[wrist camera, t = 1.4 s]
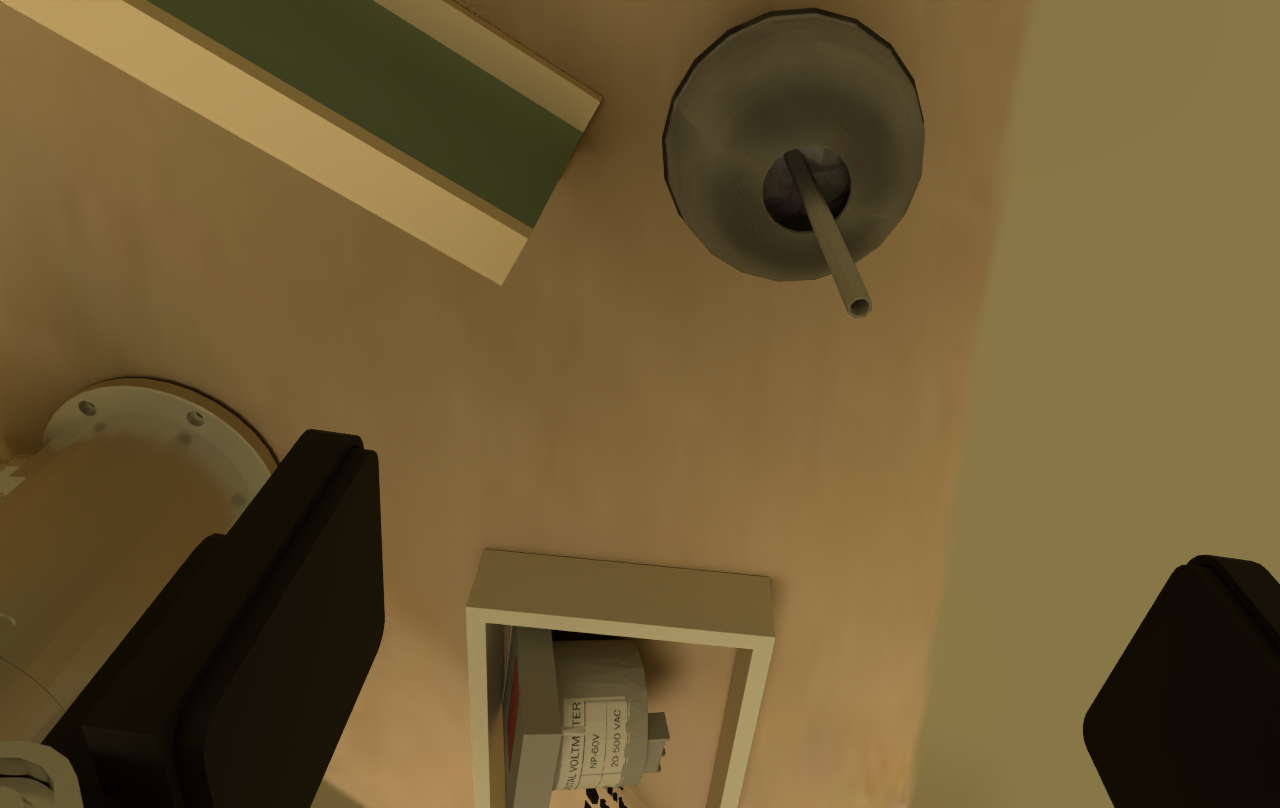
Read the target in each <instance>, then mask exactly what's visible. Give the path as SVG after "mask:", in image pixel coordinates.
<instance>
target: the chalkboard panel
mask: <svg viewBox="0 0 1280 808" xmlns="http://www.w3.org/2000/svg"><path fill="white" fill-rule="evenodd" d="M0 1H1V2H3V3H5V4H7V5H8V6H10V7H12V8H14V9H15V10H17V11H19V12H21V13H22V14H24V15H26V16H28V17H29V18H31V19H33V20H35V21H37V22H38V23H40V24H42V25H44V26H45V27H47V28H49V29H51V30H52V31H54V32H56V33H58V34H59V35H61V36H63V37H65V38H66V39H68V40H70V41H72V42H73V43H75V44H77V45H79V46H80V47H82V48H84V49H86V50H87V51H89V52H91V53H93V54H95V55H96V56H98V57H100V58H102V59H103V60H105V61H107V62H109V63H110V64H112V65H114V66H116V67H117V68H119V69H121V70H123V71H124V72H126V73H128V74H130V75H131V76H133V77H135V78H137V79H138V80H140V81H142V82H144V83H146V84H147V85H149V86H151V87H153V88H154V89H156V90H158V91H160V92H161V93H163V94H165V95H167V96H168V97H170V98H172V99H174V100H175V101H177V102H179V103H181V104H182V105H184V106H186V107H188V108H189V109H191V110H193V111H195V112H196V113H198V114H200V115H202V116H204V117H205V118H207V119H209V120H211V121H212V122H214V123H216V124H218V125H219V126H221V127H223V128H225V129H226V130H228V131H230V132H232V133H233V134H235V135H237V136H239V137H240V138H242V139H244V140H246V141H247V142H249V143H251V144H253V145H255V146H256V147H258V148H260V149H262V150H263V151H265V152H267V153H269V154H270V155H272V156H274V157H276V158H277V159H279V160H281V161H283V162H284V163H286V164H288V165H290V166H291V167H293V168H295V169H297V170H298V171H300V172H302V173H304V174H305V175H307V176H309V177H311V178H313V179H314V180H316V181H318V182H320V183H321V184H323V185H325V186H327V187H328V188H330V189H332V190H334V191H335V192H337V193H339V194H341V195H342V196H344V197H346V198H348V199H349V200H351V201H353V202H355V203H356V204H358V205H360V206H362V207H363V208H365V209H367V210H369V211H371V212H372V213H374V214H376V215H378V216H379V217H381V218H383V219H385V220H386V221H388V222H390V223H392V224H393V225H395V226H397V227H399V228H400V229H402V230H404V231H406V232H407V233H409V234H411V235H413V236H414V237H416V238H418V239H420V240H422V241H423V242H425V243H427V244H429V245H430V246H432V247H434V248H436V249H437V250H439V251H441V252H443V253H444V254H446V255H448V256H450V257H451V258H453V259H455V260H457V261H458V262H460V263H462V264H464V265H465V266H467V267H469V268H471V269H472V270H474V271H476V272H478V273H480V274H481V275H483V276H485V277H487V278H488V279H490V280H492V281H494V282H495V283H497V284H499V285H501V286H502V285H503V283H504V281H505V279H506V277H507V276H508V274H509V272H510V270H511V269H512V267H513V265H514V263H515V262H516V260H517V258H518V256H519V254H520V253H521V251H522V249H523V247H524V246H525V244H526V242H527V240H528V238H529V237H530V235H531V233H532V231H533V228H534V226H535V224H536V223H537V221H538V219H539V217H540V215H541V213H542V211H543V209H544V207H545V205H546V203H547V201H548V199H549V198H550V196H551V194H552V192H553V190H554V188H555V186H556V184H557V182H558V180H559V178H560V176H561V174H562V172H563V171H564V169H565V167H566V165H567V163H568V161H569V159H570V157H571V155H572V153H573V151H574V149H575V147H576V146H577V144H578V142H579V140H580V138H581V136H582V134H583V132H584V130H585V129H586V127H587V125H588V123H589V121H590V120H591V118H592V116H593V114H594V113H595V111H596V109H597V107H598V105H599V104H600V102H601V100H602V98H603V97H601V96H600V95H598V94H597V93H595V92H594V91H592V90H591V89H589V88H588V87H586V86H584V85H583V84H581V83H580V82H578V81H577V80H575V79H574V78H572V77H570V76H569V75H567V74H566V73H564V72H563V71H561V70H560V69H558V68H557V67H555V66H553V65H552V64H550V63H549V62H547V61H546V60H544V59H543V58H541V57H539V56H538V55H536V54H535V53H533V52H532V51H530V50H529V49H527V48H526V47H524V46H522V45H521V44H519V43H518V42H516V41H515V40H513V39H512V38H510V37H508V36H507V35H505V34H504V33H502V32H501V31H499V30H498V29H496V28H495V27H493V26H491V25H490V24H488V23H487V22H485V21H484V20H482V19H481V18H479V17H478V16H476V15H474V14H473V13H471V12H470V11H468V10H467V9H465V8H464V7H462V6H460V5H459V4H457V3H456V2H454V1H453V0H0Z"/></svg>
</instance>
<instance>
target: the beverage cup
mask: <svg viewBox="0 0 1280 808" xmlns="http://www.w3.org/2000/svg"><path fill="white" fill-rule="evenodd" d="M924 140H925V129H924V119H923V115H922V111H921V106H920V102H919V98H918V94H917V90H916V86H915V81H914V79H913V77H912V76H911V74H910V72H909V71H908V69H907V68H906V66H905V65H904V63H903V62H902V60H901V59H900V57H899V56H898V54H897V53H896V51H895V50H894V48H893V47H892V45H891V44H890V43H889V42H887V41H886V40H884V39H883V38H882V37H880V36H879V35H878V34H876V33H875V32H873V31H872V30H871V29H869V28H868V27H867V26H865V25H864V24H862V23H861V22H860V21H858V20H857V19H854V18H850V17H847V16H843V15H839V14H836V13H832V12H828V11H825V10H821V9H817V8H805V9H793V10H781V11H770V12H768V13H765V14H763V15H761V16H758V17H756V18H754V19H752V20H749V21H747V22H745V23H742V24H740V25H738V26H735V27H733V28H731V29H729V30H727V31H726V32H725V33H724V34H723V35H722V36H721V37H720V38H718V39H717V40H716V41H715V42H714V43H713V44H712V45H711V46H709V47H708V48H707V49H706V50H705V51H704V52H703V53H701V54H700V55H699V56H698V57H697V58H696V59H695V60H694V62H693V63H692V65H691V67H690V68H689V70H688V71H687V73H686V75H685V76H684V78H683V80H682V81H681V83H680V85H679V86H678V88H677V90H676V91H675V93H674V95H673V96H672V99H671V103H670V107H669V111H668V115H667V119H666V124H665V128H664V132H663V136H662V148H663V163H664V179H665V181H666V184H667V186H668V189H669V191H670V194H671V196H672V199H673V201H674V204H675V206H676V209H677V211H678V214H679V215H680V217H681V218H682V219H683V220H684V222H685V223H686V224H687V225H688V227H689V228H690V229H691V230H692V231H693V233H694V234H695V235H696V236H697V237H698V238H699V240H700V241H701V242H702V243H703V244H704V246H705V247H706V248H707V249H708V250H709V252H710V253H711V254H713V255H714V256H716V257H718V258H719V259H721V260H722V261H724V262H726V263H727V264H729V265H731V266H732V267H734V268H735V269H737V270H739V271H740V272H742V273H746V274H750V275H754V276H758V277H763V278H767V279H771V280H775V281H798V280H815V279H818V278H821V277H824V276H826V275H829V274H832V276H833V278H834V281H835V283H836V285H837V288H838V290H839V293H840V295H841V297H842V300H843V302H844V305H845V307H846V310H847V312H848V314H850V315H851V316H853V317H854V318H861V317H865V316H866V315H867V314H868V313H869V312H870V311H871V310H872V301H871V299H870V297H869V294H868V292H867V290H866V288H865V286H864V284H863V281H862V279H861V277H860V275H859V273H858V271H857V268H856V266H855V263H856V262H858V261H859V260H861V259H862V258H863V257H865V256H866V255H868V254H869V253H870V252H872V251H873V250H875V249H876V248H878V247H879V246H880V245H881V244H882V242H883V241H884V240H885V239H886V238H887V236H888V235H889V234H890V233H891V231H892V230H893V229H894V228H895V226H896V225H897V224H898V223H899V221H900V220H901V219H902V218H903V217H904V215H905V214H906V212H907V209H908V207H909V204H910V202H911V200H912V197H913V195H914V192H915V190H916V188H917V185H918V183H919V180H920V178H921V173H922V162H923V151H924Z"/></svg>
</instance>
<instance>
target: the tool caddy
mask: <svg viewBox="0 0 1280 808" xmlns="http://www.w3.org/2000/svg"><path fill="white" fill-rule="evenodd" d="M503 625H513V626H523V627H533V628H543V629H553V630H564V631H574V632H584V633H594V634H604V635H614V636H624V637H634V638H644V639H654V640H664V641H674V642H684V643H694V644H704V645H714V646H724V647H735V648H737V651H736V656H735V661H734V667H733V672H732V677H731V682H730V687H729V692H728V698H727V703H726V708H725V713H724V718H723V723H722V729H721V734H720V739H719V744H718V749H717V754H716V760H715V765H714V770H713V775H712V780H711V785H710V791H709V796H708V801H707V806H706V808H737V807H738V802H739V798H740V793H741V789H742V784H743V780H744V776H745V771H746V767H747V762H748V758H749V753H750V749H751V744H752V740H753V736H754V731H755V727H756V722H757V718H758V713H759V709H760V704H761V700H762V696H763V691H764V687H765V682H766V678H767V673H768V669H769V664H770V660H771V656H772V651H773V647H774V642H775V638H776V637H775V628H774V619H773V610H772V601H771V591H770V582H769V577H762V576H751V575H741V574H731V573H721V572H711V571H701V570H690V569H680V568H670V567H660V566H650V565H640V564H630V563H619V562H609V561H599V560H589V559H579V558H569V557H558V556H548V555H538V554H528V553H518V552H508V551H497V550H487V549H485V550H484V553H483V556H482V559H481V562H480V565H479V568H478V571H477V574H476V577H475V580H474V583H473V586H472V589H471V592H470V595H469V598H468V601H467V604H466V626H467V650H468V674H469V698H470V722H471V746H472V769H473V793H474V808H505V765H504V737H503V710H502V698H503V690H504V643H503Z"/></svg>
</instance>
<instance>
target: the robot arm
mask: <svg viewBox="0 0 1280 808" xmlns="http://www.w3.org/2000/svg"><path fill="white" fill-rule="evenodd" d="M0 494H3V495H4V497H3V498H2V499H1V500H0V808H310V806H311V804H312V802H313V799H314V797H315V795H316V792H317V790H318V788H319V786H320V783H321V781H322V779H323V776H324V774H325V772H326V769H327V767H328V765H329V763H330V760H331V758H332V756H333V753H334V751H335V749H336V746H337V744H338V742H339V739H340V737H341V735H342V733H343V730H344V728H345V726H346V723H347V721H348V719H349V716H350V714H351V712H352V709H353V707H354V705H355V703H356V700H357V698H358V696H359V693H360V691H361V689H362V686H363V684H364V682H365V679H366V677H367V675H368V672H369V670H370V668H371V666H372V663H373V661H374V659H375V656H376V654H377V652H378V649H379V646H380V643H381V640H382V636H383V631H384V623H385V610H384V586H383V561H382V536H381V512H380V487H379V462H378V456H377V453H376V452H375V451H373V450H366V449H364V446H363V442H362V439H361V438H360V437H359V436H357V435H350V434H343V433H336V432H329V431H322V430H315V429H309V430H306V431H305V432H304V433H303V434H302V435H301V436H300V438H299V439H298V440H297V442H296V443H295V444H294V446H293V447H292V448H291V450H290V451H289V452H288V454H287V455H286V456H285V458H284V459H283V460H282V462H281V463H280V464H279V465H278V466H277V464H276V462H275V461H274V459H273V457H272V455H271V454H270V452H269V450H268V449H267V448H266V446H265V445H264V444H263V443H262V442H261V440H260V439H259V438H258V437H257V435H256V434H255V433H254V432H253V431H252V430H251V429H250V428H249V427H248V426H246V425H245V424H244V423H243V422H242V421H241V420H240V419H239V418H238V417H236V416H235V415H234V414H232V413H231V412H229V411H228V410H226V409H225V408H223V407H222V406H220V405H219V404H217V403H216V402H214V401H212V400H210V399H208V398H206V397H204V396H202V395H200V394H198V393H196V392H194V391H192V390H189V389H186V388H183V387H180V386H177V385H174V384H171V383H167V382H162V381H156V380H150V379H145V378H120V379H114V380H109V381H103V382H99V383H97V384H94V385H92V386H90V387H87V388H85V389H83V390H81V391H80V392H79V393H77V394H76V395H74V396H73V397H72V398H70V399H69V400H67V401H66V402H65V403H64V404H63V405H62V406H61V407H60V408H59V409H58V410H57V411H56V412H55V413H54V414H53V415H52V417H51V419H50V421H49V423H48V424H47V426H46V428H45V432H44V437H43V441H42V449H41V450H40V451H39V452H38V453H36V454H35V455H22V454H20V455H18V456H16V457H14V458H12V459H11V460H1V459H0ZM1083 736H1084V741H1085V744H1086V747H1087V750H1088V752H1089V754H1090V756H1091V758H1092V760H1093V763H1094V765H1095V767H1096V769H1097V771H1098V773H1099V775H1100V777H1101V780H1102V782H1103V784H1104V786H1105V788H1106V790H1107V793H1108V795H1109V797H1110V799H1111V801H1112V803H1113V805H1114V807H1115V808H1280V584H1279V583H1278V582H1277V581H1276V580H1275V578H1274V577H1273V576H1272V575H1271V574H1270V573H1269V571H1268V570H1266V569H1265V568H1264V567H1263V566H1262V565H1260V564H1258V563H1256V562H1253V561H1247V560H1240V559H1234V558H1226V557H1219V556H1212V555H1199V556H1196V557H1195V558H1193V559H1191V560H1190V561H1189V562H1188V564H1187V565H1181V566H1179V567H1178V568H1176V569H1175V570H1174V572H1173V573H1172V574H1171V576H1170V578H1169V579H1168V581H1167V583H1166V584H1165V586H1164V587H1163V589H1162V591H1161V592H1160V594H1159V595H1158V597H1157V599H1156V600H1155V602H1154V604H1153V605H1152V607H1151V608H1150V610H1149V612H1148V613H1147V615H1146V617H1145V619H1144V620H1143V622H1142V623H1141V625H1140V627H1139V628H1138V630H1137V631H1136V633H1135V635H1134V636H1133V638H1132V639H1131V641H1130V643H1129V644H1128V646H1127V648H1126V650H1125V651H1124V653H1123V654H1122V656H1121V658H1120V659H1119V661H1118V663H1117V664H1116V666H1115V667H1114V669H1113V671H1112V672H1111V674H1110V675H1109V677H1108V679H1107V680H1106V682H1105V684H1104V685H1103V687H1102V689H1101V690H1100V692H1099V693H1098V695H1097V697H1096V698H1095V700H1094V702H1093V703H1092V705H1091V707H1090V708H1089V710H1088V711H1087V713H1086V716H1085V718H1084V723H1083Z"/></svg>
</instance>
